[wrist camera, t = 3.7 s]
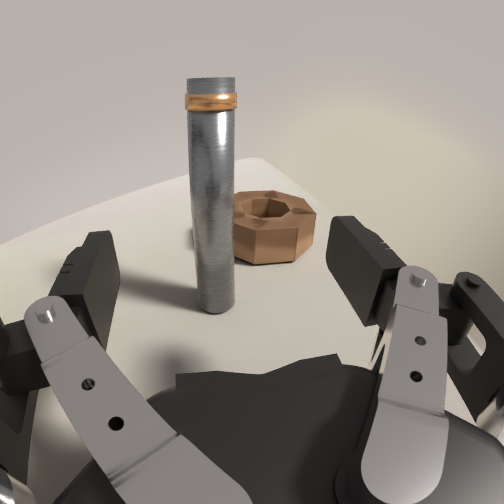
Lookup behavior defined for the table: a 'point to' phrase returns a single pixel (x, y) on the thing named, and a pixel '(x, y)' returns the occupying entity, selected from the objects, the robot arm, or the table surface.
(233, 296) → the banded metal pin
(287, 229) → the bead
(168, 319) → the table surface
